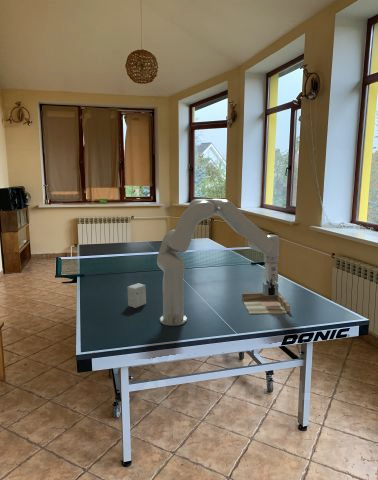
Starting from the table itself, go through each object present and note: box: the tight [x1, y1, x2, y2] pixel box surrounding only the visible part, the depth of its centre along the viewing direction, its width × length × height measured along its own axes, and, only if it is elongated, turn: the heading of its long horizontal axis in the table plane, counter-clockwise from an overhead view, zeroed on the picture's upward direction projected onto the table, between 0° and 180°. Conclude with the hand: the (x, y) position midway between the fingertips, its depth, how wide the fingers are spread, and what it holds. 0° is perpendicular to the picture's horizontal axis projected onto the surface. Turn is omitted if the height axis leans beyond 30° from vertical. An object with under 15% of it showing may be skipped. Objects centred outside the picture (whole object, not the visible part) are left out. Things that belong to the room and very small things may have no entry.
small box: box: [126, 282, 147, 309], centre depth 196 cm, size 8×6×10 cm
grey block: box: [262, 281, 279, 296], centre depth 194 cm, size 7×4×6 cm, turn 92°
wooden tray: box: [241, 291, 291, 315], centre depth 193 cm, size 20×20×4 cm
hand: (270, 293), depth 194 cm, fingers closed on grey block, 4 cm apart
